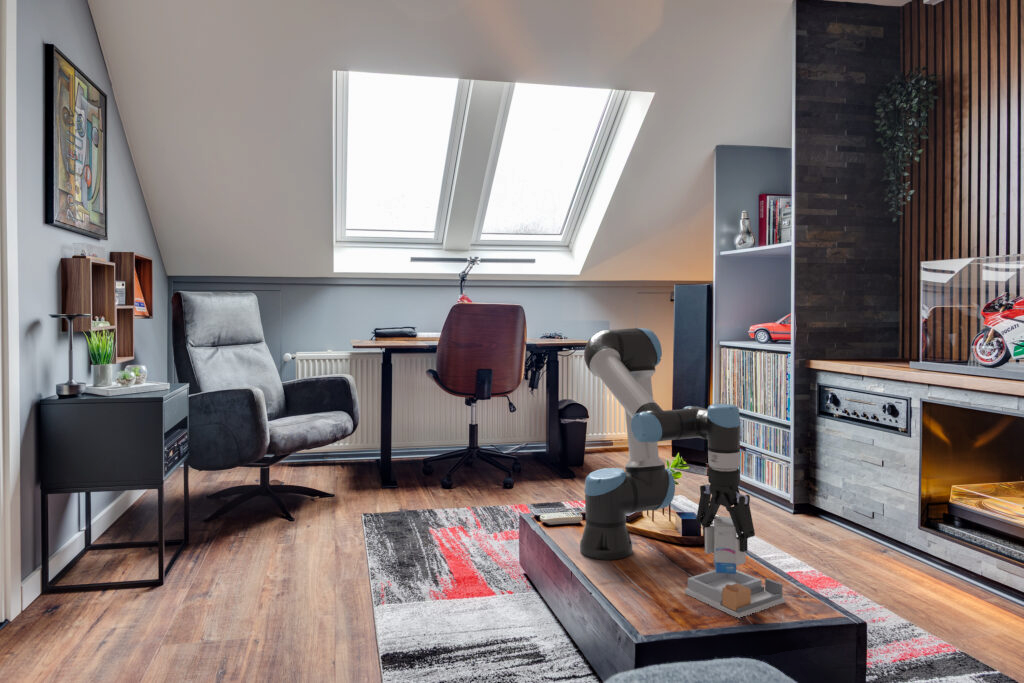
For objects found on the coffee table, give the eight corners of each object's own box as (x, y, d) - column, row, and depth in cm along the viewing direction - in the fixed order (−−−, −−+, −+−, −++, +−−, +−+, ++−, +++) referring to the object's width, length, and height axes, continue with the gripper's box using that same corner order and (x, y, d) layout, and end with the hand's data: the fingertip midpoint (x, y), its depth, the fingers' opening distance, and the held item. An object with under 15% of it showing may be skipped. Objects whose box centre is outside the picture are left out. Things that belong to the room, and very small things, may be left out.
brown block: (722, 604, 168) (722, 584, 168) (737, 599, 171) (737, 580, 170) (735, 611, 165) (735, 590, 164) (750, 605, 167) (750, 585, 167)
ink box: (737, 574, 173) (737, 526, 172) (715, 573, 174) (715, 525, 173) (733, 562, 181) (733, 515, 180) (713, 561, 182) (712, 515, 181)
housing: (684, 593, 178) (684, 577, 178) (729, 579, 187) (729, 563, 187) (739, 618, 164) (739, 600, 164) (784, 602, 172) (784, 584, 172)
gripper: (680, 461, 183) (681, 548, 185) (749, 478, 165) (749, 574, 166) (701, 458, 187) (702, 543, 188) (771, 473, 169) (771, 568, 170)
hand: (724, 557), depth 177 cm, fingers closed on ink box, 9 cm apart
